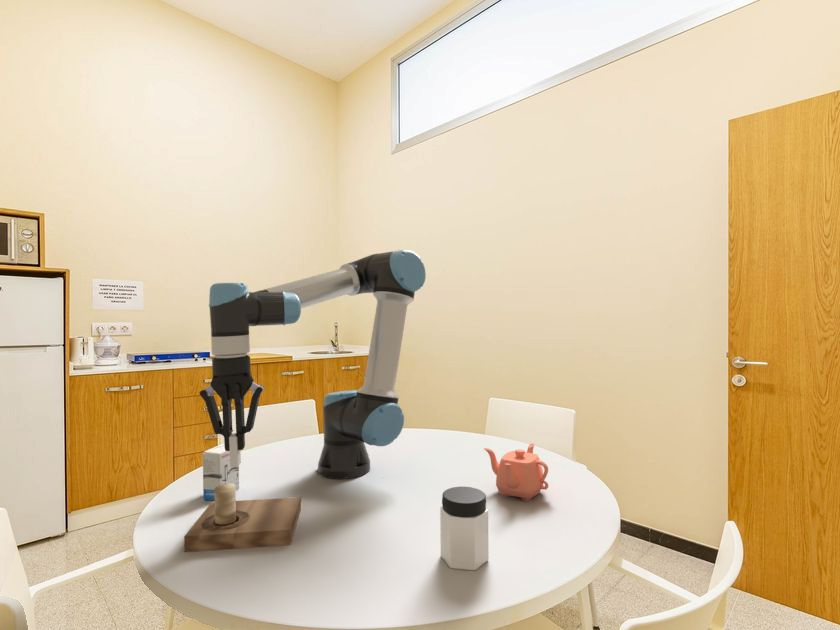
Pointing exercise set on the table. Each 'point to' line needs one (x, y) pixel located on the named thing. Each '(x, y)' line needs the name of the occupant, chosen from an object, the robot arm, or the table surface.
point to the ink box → (217, 471)
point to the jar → (464, 528)
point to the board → (246, 526)
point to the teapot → (519, 473)
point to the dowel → (225, 504)
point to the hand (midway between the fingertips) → (235, 464)
